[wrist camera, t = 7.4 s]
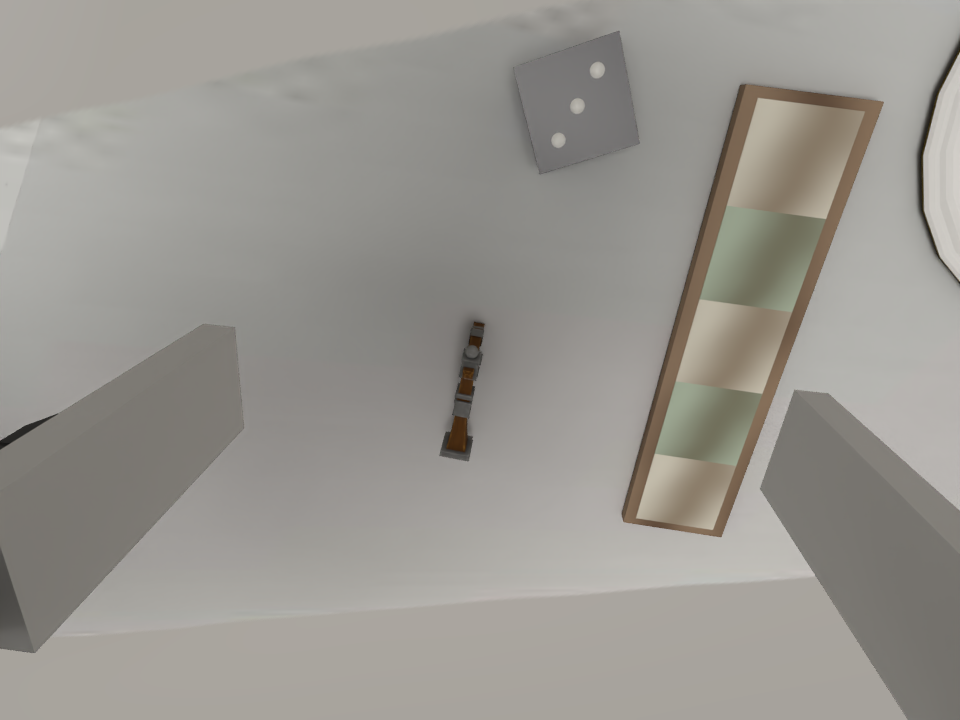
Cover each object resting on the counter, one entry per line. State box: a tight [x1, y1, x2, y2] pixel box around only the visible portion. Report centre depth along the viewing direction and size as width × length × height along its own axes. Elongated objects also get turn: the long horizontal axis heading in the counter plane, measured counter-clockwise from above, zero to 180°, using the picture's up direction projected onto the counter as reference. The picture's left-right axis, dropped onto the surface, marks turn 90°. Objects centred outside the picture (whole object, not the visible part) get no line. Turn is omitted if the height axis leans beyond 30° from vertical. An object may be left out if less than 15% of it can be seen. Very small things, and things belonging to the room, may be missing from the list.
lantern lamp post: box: [439, 322, 484, 461], centre depth 33 cm, size 4×2×8 cm
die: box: [513, 31, 640, 174], centre depth 26 cm, size 5×4×5 cm
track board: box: [622, 84, 884, 537], centre depth 32 cm, size 6×26×1 cm, turn 173°
